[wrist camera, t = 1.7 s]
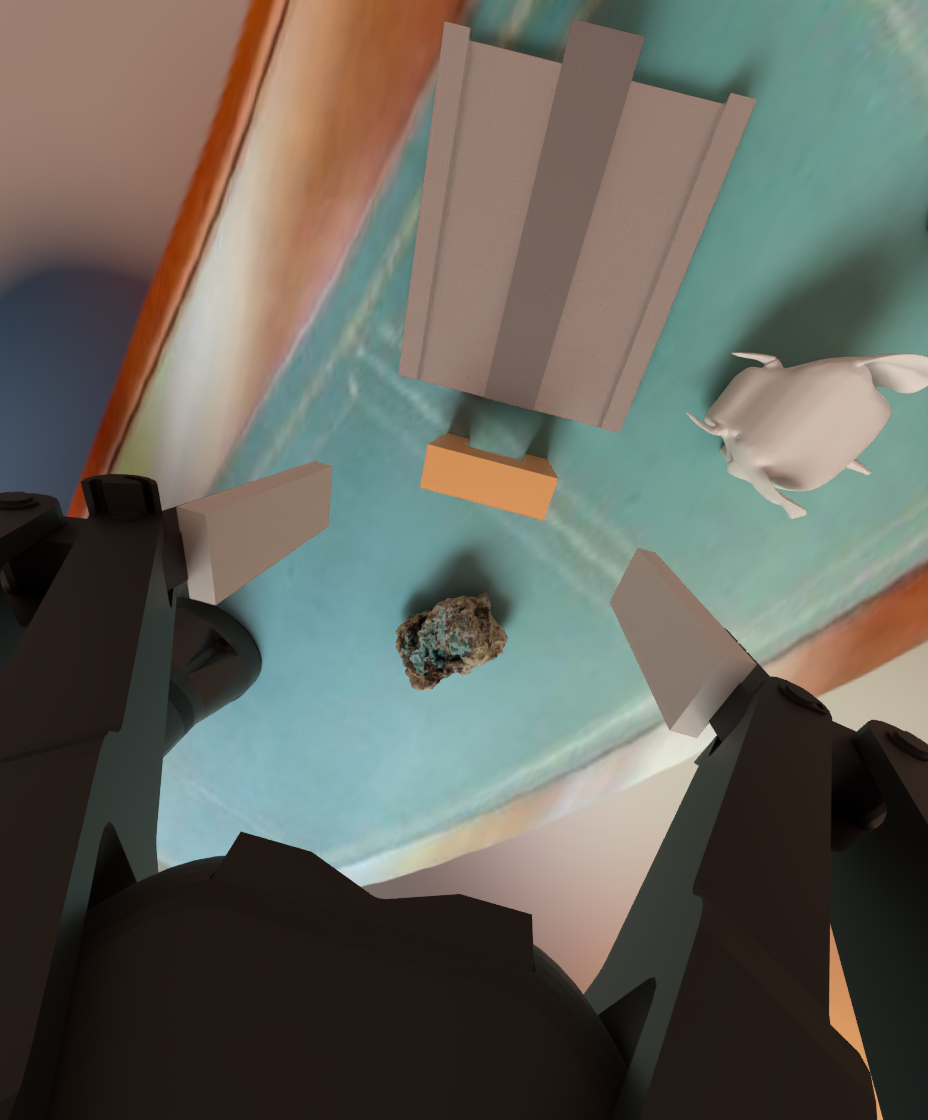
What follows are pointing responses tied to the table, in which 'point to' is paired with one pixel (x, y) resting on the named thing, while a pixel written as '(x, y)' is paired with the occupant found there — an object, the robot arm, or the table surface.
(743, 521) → the table surface
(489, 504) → the clip
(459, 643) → the mineral specimen
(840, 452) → the elephant figurine
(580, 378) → the rail
